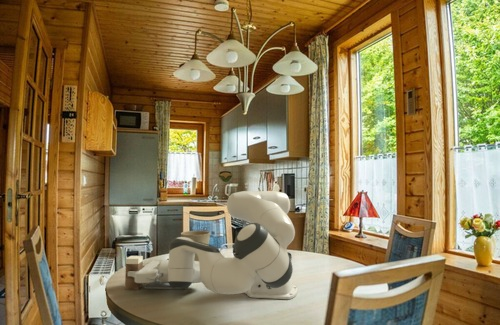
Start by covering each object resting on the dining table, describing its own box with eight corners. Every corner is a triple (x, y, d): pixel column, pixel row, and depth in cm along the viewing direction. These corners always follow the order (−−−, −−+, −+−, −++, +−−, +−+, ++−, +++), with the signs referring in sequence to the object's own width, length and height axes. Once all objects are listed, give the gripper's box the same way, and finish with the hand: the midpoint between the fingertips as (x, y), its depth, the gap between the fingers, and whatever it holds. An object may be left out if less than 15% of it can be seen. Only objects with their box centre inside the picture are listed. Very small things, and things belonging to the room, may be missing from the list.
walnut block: (142, 285, 136) (142, 255, 137) (137, 289, 131) (138, 258, 132) (130, 285, 136) (130, 255, 137) (125, 289, 131) (125, 258, 132)
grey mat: (190, 280, 143) (190, 279, 143) (184, 289, 132) (184, 287, 132) (153, 280, 144) (153, 278, 144) (144, 288, 133) (144, 286, 133)
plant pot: (211, 260, 178) (212, 230, 179) (207, 268, 163) (208, 235, 164) (183, 260, 178) (184, 230, 179) (177, 267, 164) (177, 235, 164)
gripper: (157, 287, 123) (120, 287, 124) (172, 272, 144) (141, 271, 144) (158, 270, 123) (121, 269, 124) (173, 257, 144) (141, 256, 144)
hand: (132, 270), depth 134 cm, fingers open, 6 cm apart
